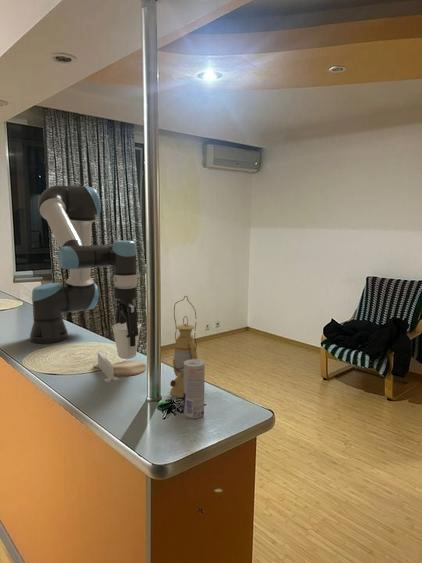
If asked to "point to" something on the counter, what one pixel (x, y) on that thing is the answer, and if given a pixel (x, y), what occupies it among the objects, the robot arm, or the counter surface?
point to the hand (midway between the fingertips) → (127, 350)
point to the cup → (123, 339)
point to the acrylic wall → (106, 368)
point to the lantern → (182, 354)
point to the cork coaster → (128, 368)
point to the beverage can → (194, 388)
